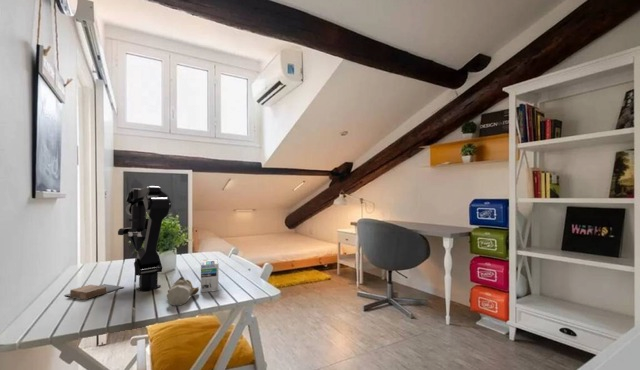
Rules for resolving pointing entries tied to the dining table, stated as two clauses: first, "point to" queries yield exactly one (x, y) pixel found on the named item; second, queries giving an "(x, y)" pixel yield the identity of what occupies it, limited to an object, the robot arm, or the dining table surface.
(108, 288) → the mat
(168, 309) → the dining table surface
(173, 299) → the ceramic sculpture
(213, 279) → the light bulb box
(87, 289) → the walnut tile
